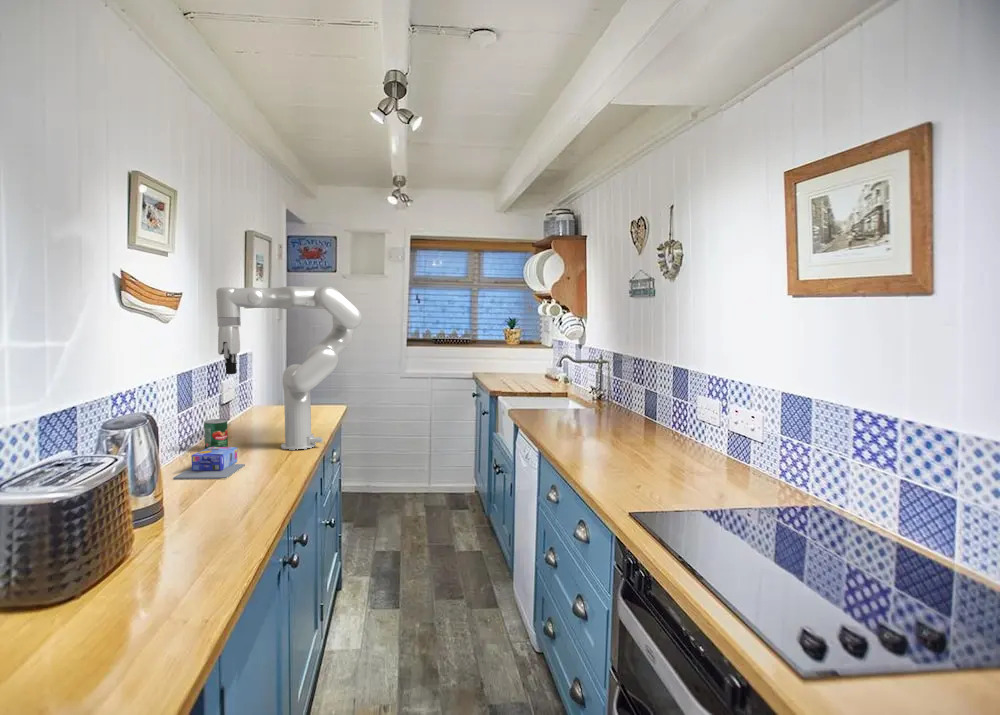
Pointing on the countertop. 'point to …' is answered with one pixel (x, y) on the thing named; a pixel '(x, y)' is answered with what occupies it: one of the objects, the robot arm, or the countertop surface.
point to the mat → (209, 473)
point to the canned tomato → (216, 433)
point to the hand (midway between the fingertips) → (231, 373)
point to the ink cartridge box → (214, 459)
